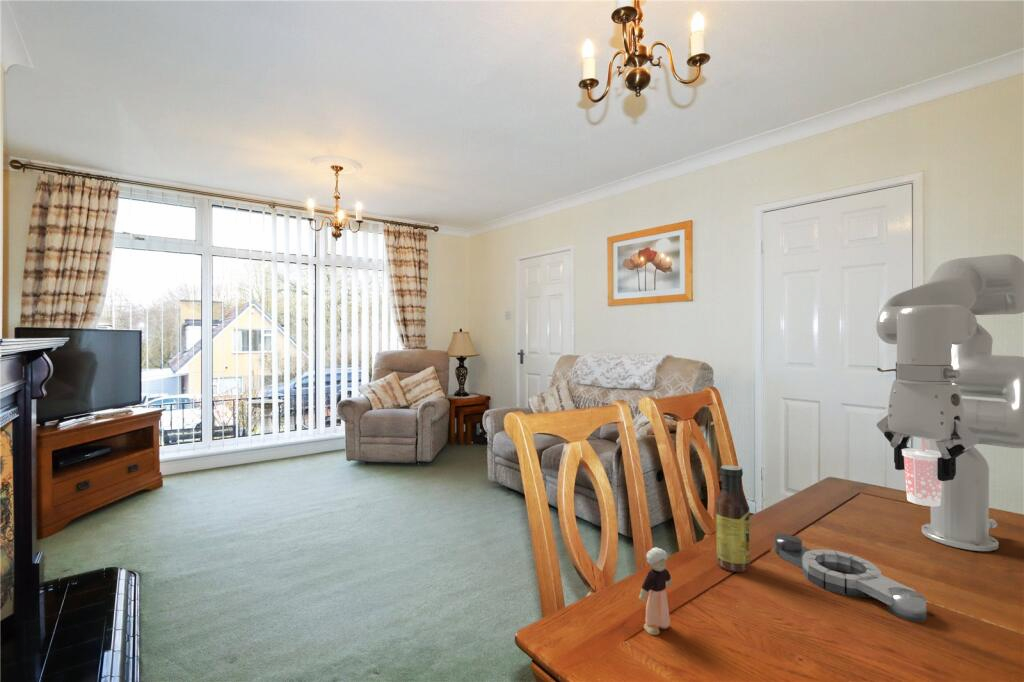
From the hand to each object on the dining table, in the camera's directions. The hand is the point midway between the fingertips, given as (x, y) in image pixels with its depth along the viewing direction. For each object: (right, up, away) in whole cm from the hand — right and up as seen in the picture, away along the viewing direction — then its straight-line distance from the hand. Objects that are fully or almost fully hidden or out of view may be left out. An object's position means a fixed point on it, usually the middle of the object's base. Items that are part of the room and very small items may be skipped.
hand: (923, 473), depth 86 cm
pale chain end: (-11, -21, +1) cm, 24 cm away
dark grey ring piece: (-13, -21, +9) cm, 26 cm away
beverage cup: (0, -5, 0) cm, 5 cm away
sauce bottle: (-29, -22, +11) cm, 38 cm away
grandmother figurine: (-50, -22, -9) cm, 56 cm away
